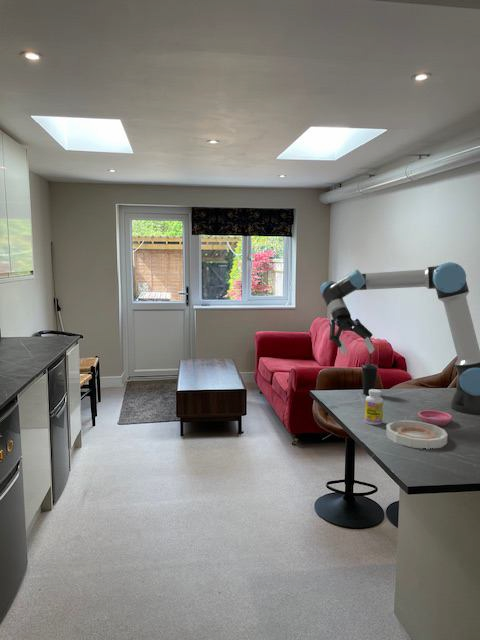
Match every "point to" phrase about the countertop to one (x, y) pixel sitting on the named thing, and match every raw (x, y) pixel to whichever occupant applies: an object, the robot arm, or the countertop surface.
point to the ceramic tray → (416, 434)
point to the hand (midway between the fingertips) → (358, 352)
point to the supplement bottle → (374, 407)
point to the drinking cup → (369, 376)
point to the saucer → (435, 417)
